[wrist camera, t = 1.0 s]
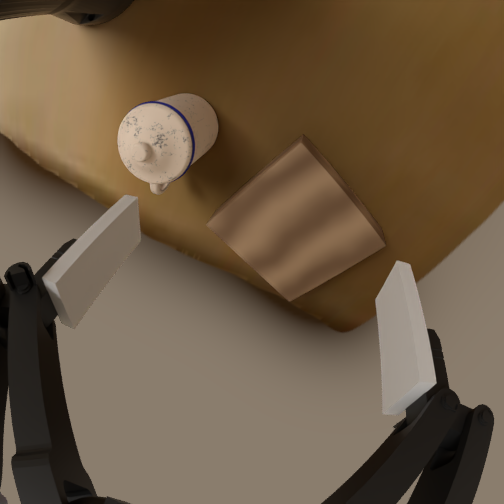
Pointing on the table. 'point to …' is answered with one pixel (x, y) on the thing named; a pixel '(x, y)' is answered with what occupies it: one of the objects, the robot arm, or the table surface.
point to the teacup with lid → (166, 138)
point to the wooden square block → (297, 222)
